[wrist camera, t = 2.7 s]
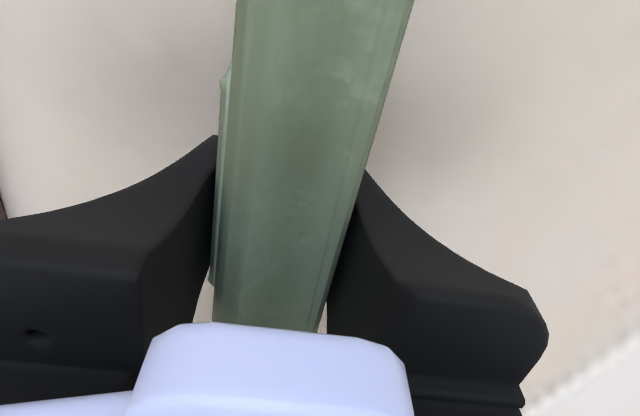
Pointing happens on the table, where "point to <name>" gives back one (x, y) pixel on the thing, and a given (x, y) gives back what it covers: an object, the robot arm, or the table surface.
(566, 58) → the table surface
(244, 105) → the handheld radio
